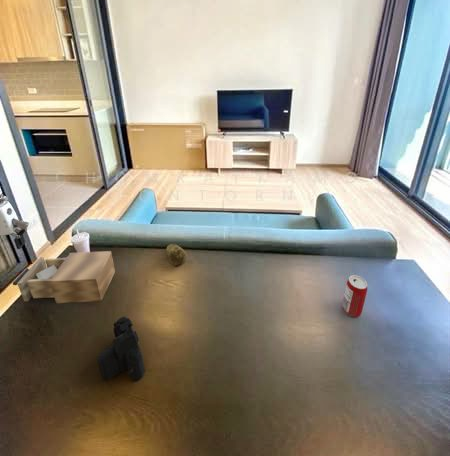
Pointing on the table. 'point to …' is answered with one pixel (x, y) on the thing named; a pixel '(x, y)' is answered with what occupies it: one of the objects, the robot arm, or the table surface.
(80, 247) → the smoothie
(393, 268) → the table surface
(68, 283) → the brown wooden box
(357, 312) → the soda can
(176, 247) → the potato
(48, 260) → the drawer
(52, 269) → the small box
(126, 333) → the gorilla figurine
